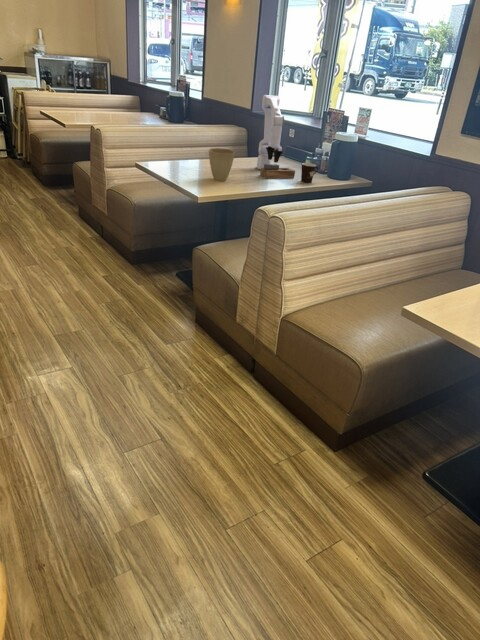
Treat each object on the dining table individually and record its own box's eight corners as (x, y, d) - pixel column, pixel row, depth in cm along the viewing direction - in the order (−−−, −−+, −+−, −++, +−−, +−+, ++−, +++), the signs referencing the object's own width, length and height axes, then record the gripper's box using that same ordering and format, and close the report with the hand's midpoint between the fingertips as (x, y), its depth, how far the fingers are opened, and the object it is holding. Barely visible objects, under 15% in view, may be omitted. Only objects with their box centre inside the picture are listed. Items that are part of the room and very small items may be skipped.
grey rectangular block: (263, 174, 289) (264, 164, 286) (275, 173, 293) (276, 164, 290) (265, 175, 287) (266, 165, 284) (278, 175, 290) (279, 165, 288)
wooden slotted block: (260, 175, 291) (260, 167, 289) (287, 174, 300) (288, 167, 297) (266, 178, 285) (267, 170, 283) (294, 178, 293) (295, 170, 291)
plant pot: (203, 176, 275) (205, 147, 267) (227, 176, 280) (229, 148, 272) (211, 182, 263) (213, 153, 255) (236, 182, 268) (238, 153, 260)
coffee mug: (301, 182, 284) (304, 165, 279) (297, 179, 291) (300, 162, 286) (319, 183, 286) (322, 166, 281) (315, 180, 293) (318, 163, 289)
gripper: (264, 135, 283) (261, 158, 290) (275, 139, 272) (272, 163, 279) (274, 135, 286) (271, 158, 293) (286, 139, 275) (283, 163, 282)
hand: (272, 161), depth 286 cm, fingers open, 7 cm apart
